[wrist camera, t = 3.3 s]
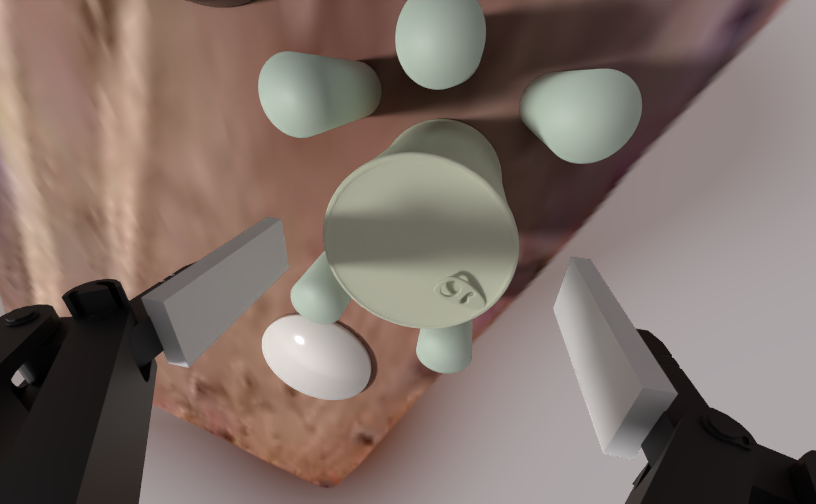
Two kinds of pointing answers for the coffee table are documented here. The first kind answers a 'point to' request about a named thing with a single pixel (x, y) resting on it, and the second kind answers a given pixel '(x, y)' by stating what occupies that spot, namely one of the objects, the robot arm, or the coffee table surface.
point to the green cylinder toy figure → (424, 228)
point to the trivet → (316, 357)
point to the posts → (439, 69)
